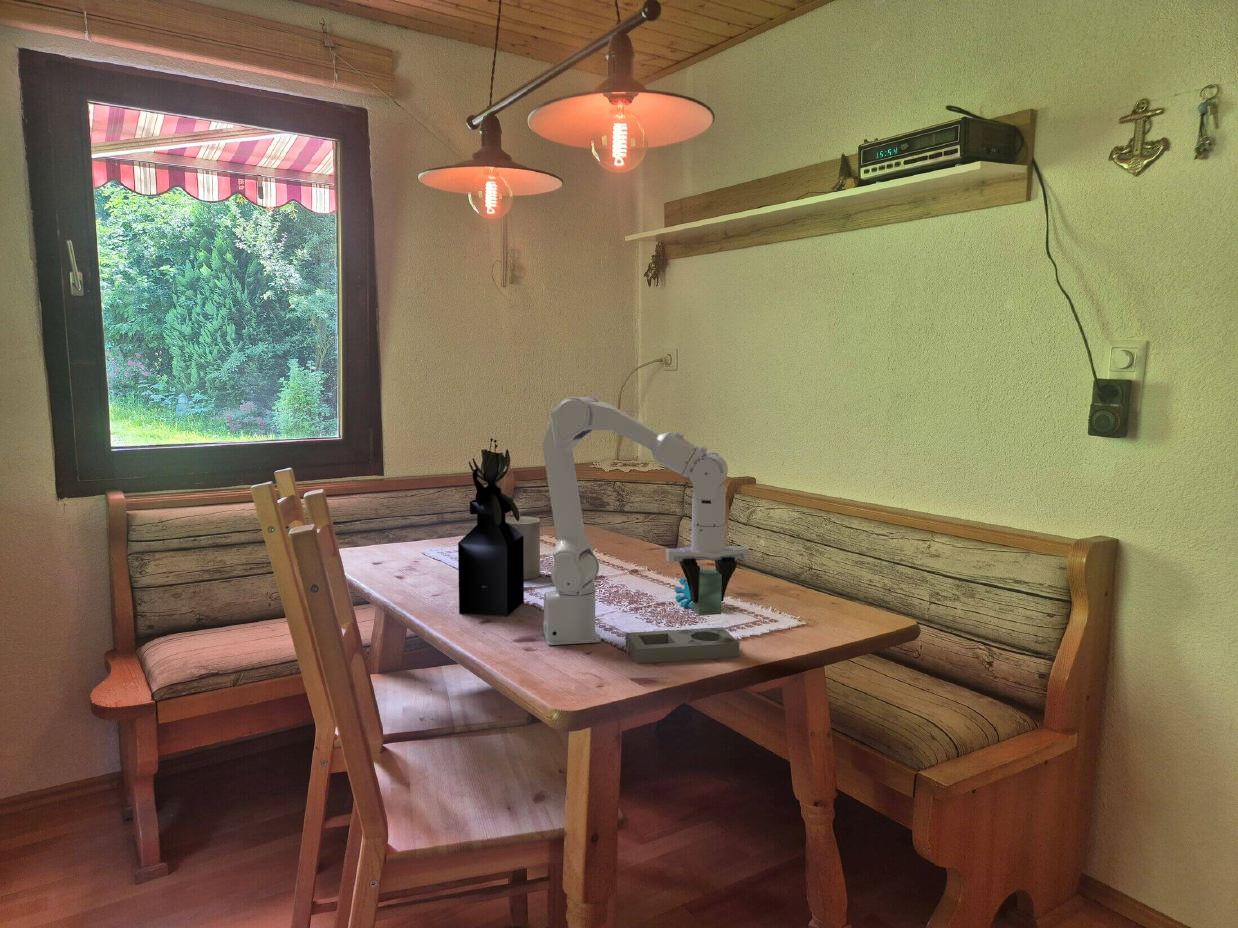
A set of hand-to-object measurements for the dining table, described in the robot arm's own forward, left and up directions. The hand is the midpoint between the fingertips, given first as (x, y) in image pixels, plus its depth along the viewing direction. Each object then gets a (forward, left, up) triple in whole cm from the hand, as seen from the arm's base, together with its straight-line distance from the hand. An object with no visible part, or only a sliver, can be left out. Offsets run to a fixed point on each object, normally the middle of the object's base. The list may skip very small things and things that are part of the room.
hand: (706, 600), depth 144 cm
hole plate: (-4, 0, -9) cm, 10 cm away
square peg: (0, 0, -2) cm, 2 cm away
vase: (-35, +33, -9) cm, 49 cm away
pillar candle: (-27, +60, -9) cm, 67 cm away
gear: (+7, +27, -9) cm, 30 cm away
